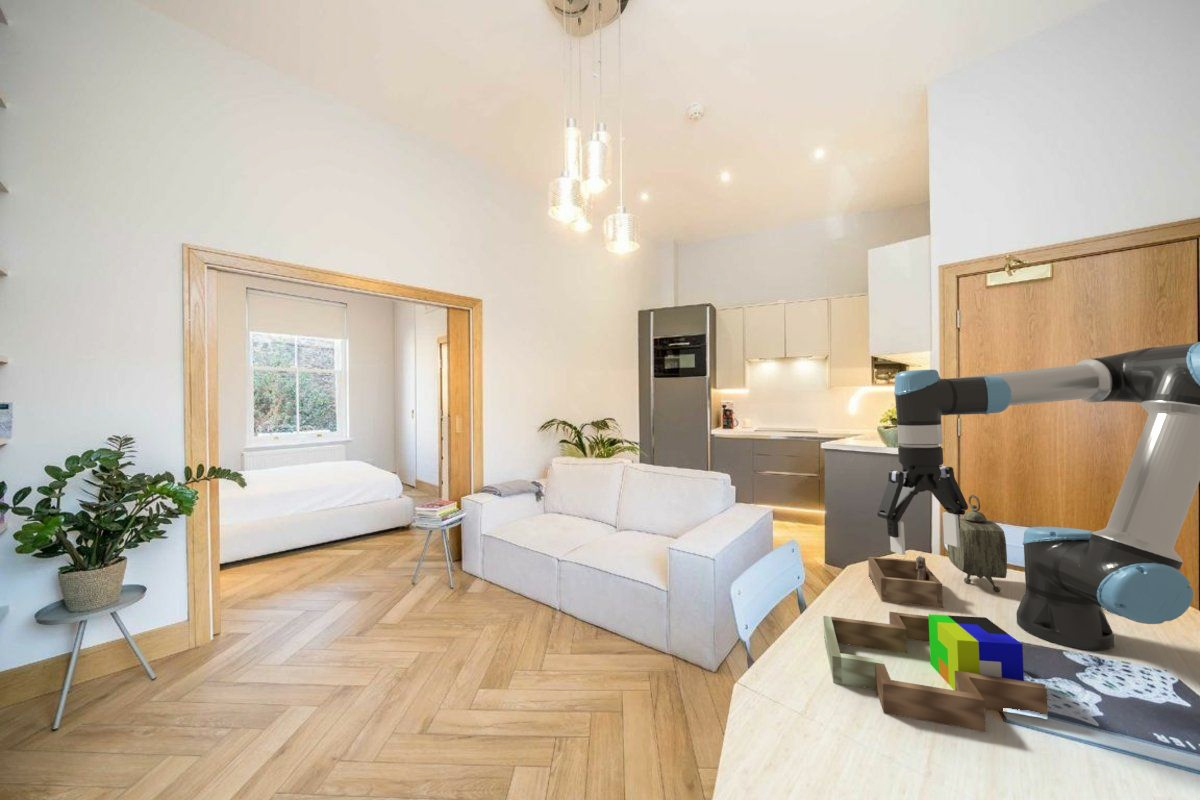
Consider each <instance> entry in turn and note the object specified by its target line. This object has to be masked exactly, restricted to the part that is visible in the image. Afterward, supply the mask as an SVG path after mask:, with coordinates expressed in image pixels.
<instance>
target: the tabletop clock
mask: <svg viewBox="0 0 1200 800" xmlns="http://www.w3.org/2000/svg"><path fill="white" fill-rule="evenodd" d="M972 498H974V499H975V501H976V502H977V505H975V504H974V505H973V504H972V502H971V501H972ZM968 505H969V507H970V508H971V510H970V511H967V512H965V514H964V515H963V517H960V528H959V540H960V547H955V546H952V545H948V544H947V553H948V554H947V556H948V559H949V562H951V563H952V565H953V566H954V567H955V568H957V569H958V570H959V571H960V572H962V573H964V574H967V576H966V577H964V578H963V581H964V583H965V584H971V583H972V580H971V576H972V577H973V576H974V577H977V578H979V579H982V578H983V577H984V578H985V579H987V580H988V582H989V583H990V584H991V585H992V591H993V592H994V593H996V594H997V593H1001V588H1000V587H999V586H997V585H996V584H995V582H994V580H993V578H997V579H1006V577H1007V572H1008V553H1007V552H1008V551H1007V541H1006V540H1007V539H1006V535H1005V532H1004V529H1003V528H1002V527H1001V526H1000V525H999V524H997V523H996V522H994V521H992V520H990V519H988V518H986V516H985V514H983V513H982V512H980V509H981V502H980V499H979V497H977V495H975V494H970V495H969V497H968Z"/></svg>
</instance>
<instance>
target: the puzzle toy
mask: <svg viewBox="0 0 1200 800" xmlns="http://www.w3.org/2000/svg"><path fill="white" fill-rule="evenodd" d="M928 616H929V640H930V642H929V659H930V660H929V662H930V665H931V667H932V668H933V669H934V670H935V671H936V672H937V673H938V674H939V676H941V678H942V679H943V680H944V681H945V682H946V684H948V686H950V687H951V688H952V690H955V671H961V672H968V673H974V674H981V675H987V676H994V677H1000V678H1007V679H1014V680H1020V681H1025V678H1024V677H1025V675H1024V670H1025V669H1024V653H1023V651H1024V650H1023V644H1022V643H1021V642H1020V641H1019V640H1017V639H1016V638H1015V637H1014V636H1012V635H1011V634H1009V633H1008V632H1006V631H1005V630H1004V629H1002V628H1001V627H999V626H998V625H997V624H996V623H994V622H993V621H992V620H990V619H989V618H987V617H984V616H983V617H982V616H966V615H965V616H963V615H950V614H949V615H947V614H946V615H945V614H929V613H928Z"/></svg>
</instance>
